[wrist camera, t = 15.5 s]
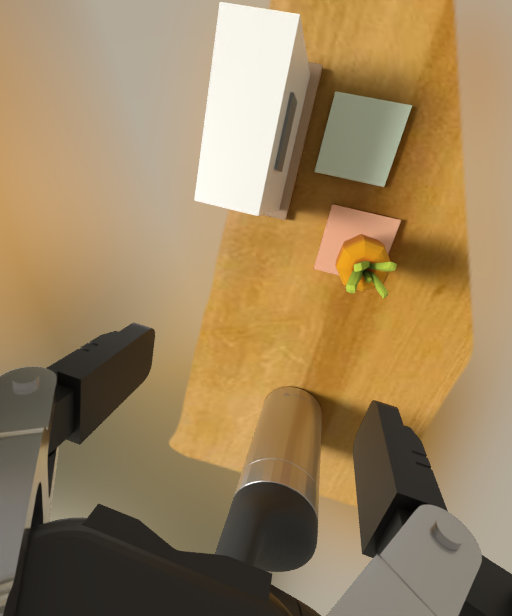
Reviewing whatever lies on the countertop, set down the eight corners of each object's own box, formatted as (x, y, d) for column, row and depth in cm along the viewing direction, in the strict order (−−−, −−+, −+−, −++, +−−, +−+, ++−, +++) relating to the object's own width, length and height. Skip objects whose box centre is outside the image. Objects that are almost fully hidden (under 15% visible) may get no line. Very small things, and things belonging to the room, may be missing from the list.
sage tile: (382, 187, 36) (384, 187, 35) (314, 172, 37) (314, 171, 36) (410, 107, 33) (412, 105, 32) (335, 94, 34) (335, 91, 33)
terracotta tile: (375, 283, 40) (376, 285, 39) (314, 267, 41) (313, 268, 40) (399, 219, 37) (401, 220, 36) (332, 204, 38) (332, 204, 37)
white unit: (286, 219, 40) (266, 230, 28) (226, 204, 41) (182, 209, 29) (322, 69, 34) (317, -2, 22) (251, 56, 35) (209, -18, 23)
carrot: (380, 224, 36) (404, 246, 23) (378, 266, 38) (399, 310, 25) (336, 226, 38) (334, 249, 24) (335, 267, 39) (334, 309, 26)
